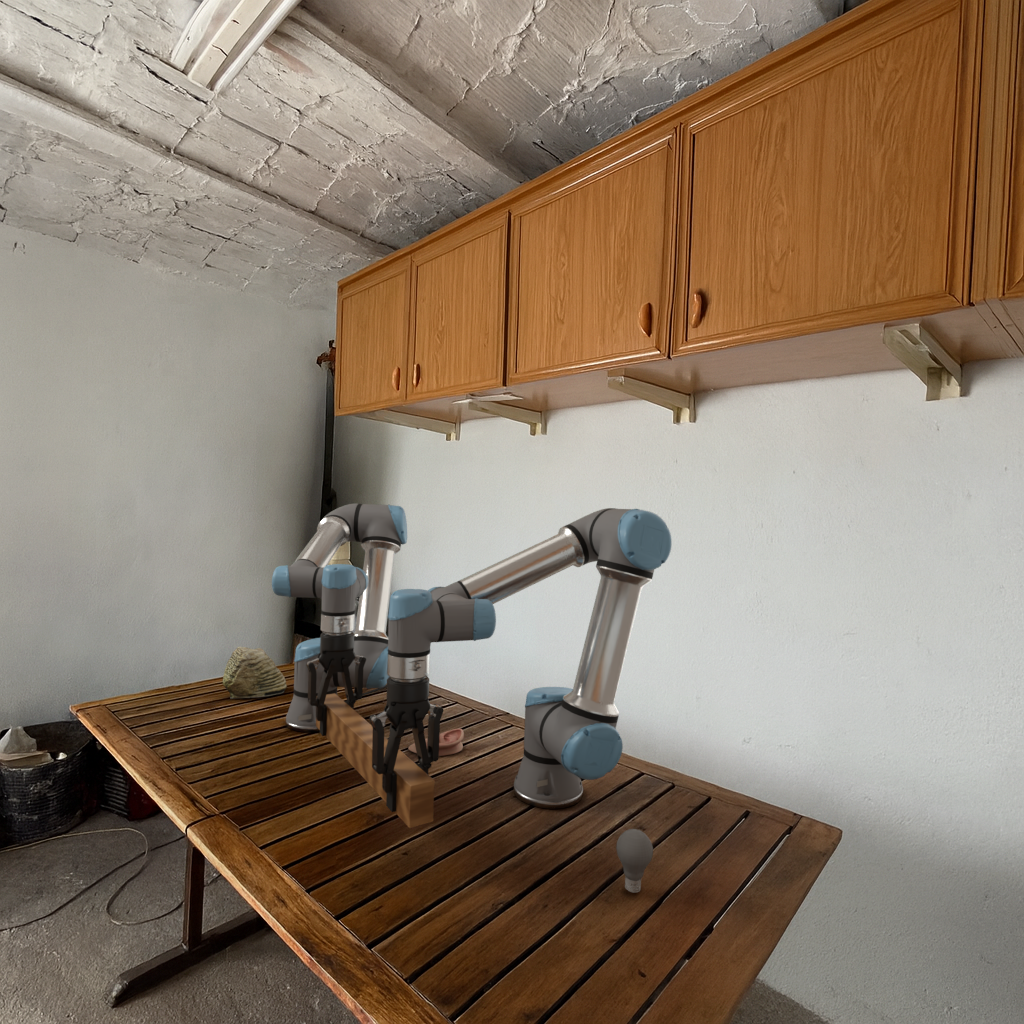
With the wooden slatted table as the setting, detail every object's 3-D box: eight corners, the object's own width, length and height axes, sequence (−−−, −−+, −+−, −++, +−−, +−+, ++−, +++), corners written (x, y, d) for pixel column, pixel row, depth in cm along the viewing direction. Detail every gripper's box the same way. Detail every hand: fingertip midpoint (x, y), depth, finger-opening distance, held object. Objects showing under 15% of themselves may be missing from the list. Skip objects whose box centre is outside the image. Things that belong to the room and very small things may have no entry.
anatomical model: (404, 737, 158) (420, 722, 169) (403, 753, 158) (419, 736, 169) (455, 743, 155) (468, 727, 166) (454, 760, 155) (467, 742, 166)
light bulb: (610, 879, 108) (613, 822, 108) (644, 879, 109) (647, 822, 109) (619, 902, 102) (622, 840, 102) (655, 901, 103) (658, 840, 103)
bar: (315, 726, 151) (316, 695, 151) (334, 722, 154) (335, 693, 153) (409, 828, 107) (410, 786, 107) (433, 821, 110) (434, 780, 109)
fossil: (218, 695, 195) (220, 647, 195) (278, 685, 208) (279, 640, 207) (228, 703, 189) (230, 653, 188) (289, 692, 201) (290, 645, 201)
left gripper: (302, 638, 138) (299, 744, 139) (380, 632, 147) (376, 731, 148) (294, 631, 144) (291, 732, 145) (369, 625, 154) (366, 720, 154)
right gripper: (368, 689, 105) (365, 827, 106) (461, 675, 115) (457, 801, 116) (353, 677, 112) (350, 807, 112) (442, 665, 121) (439, 785, 122)
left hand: (334, 731), depth 147 cm, fingers closed on bar, 5 cm apart
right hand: (404, 804), depth 114 cm, fingers closed on bar, 4 cm apart
